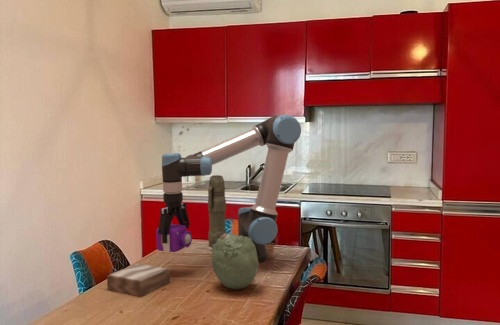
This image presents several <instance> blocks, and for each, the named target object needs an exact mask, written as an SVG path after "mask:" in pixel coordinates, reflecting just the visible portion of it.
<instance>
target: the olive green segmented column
mask: <svg viewBox="0 0 500 325" xmlns="http://www.w3.org/2000/svg"><path fill="white" fill-rule="evenodd" d="M225 190H226V187H225V180H224V176H222V175H221V174H220V175H216V174H215V175H212V176H211V175H210V177H209V180H208V190H207V196H208V198H207V210H208V220H209V221H208V222H209V227H208V228H209V230H208V234H207V236H208V237H207V238H208V247H210V248H213V246H212V245H215V243H216V242H217V239H219V238H220V237H221V235H222V234H227V230H226V211H227V200H226V192H225Z"/></svg>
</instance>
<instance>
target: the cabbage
mask: <svg viewBox="0 0 500 325" xmlns="http://www.w3.org/2000/svg"><path fill="white" fill-rule="evenodd" d="M212 246H213V247H211V248H212V249H210V250H209V252H211V253H212V255H210V257H211V259H212V260H211V267H212V269H213V272H214V274H215V276H216V277H217V279H218V281H219V283H220V284H222V285H223V286H225V287H226V288H228V289H231V290H242V289H245V288H247V287H248V286H249V285H250V284H252V282H253V281H254V280H255V279H256V276H257V271H258V268H259V265H260V264H259V263H260V262H258V256H257V251H256V248H255V245H254V244H253V242H252V240H251V239H250V238H249V237H246V236H245V237H244V236H242V235H241V236H238V234H234V233H226V234H222V235H221V237H220V238H219V239H217V242H216V243H215V245H212Z"/></svg>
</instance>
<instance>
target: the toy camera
mask: <svg viewBox="0 0 500 325" xmlns="http://www.w3.org/2000/svg"><path fill="white" fill-rule="evenodd" d="M165 232H166V231H165ZM155 234H156V235H155V237H156V249H157V250H158V251H160V252H164V251H163V242H162V235H160V234H158V228H156V230H155ZM168 235H169V236H170V252H169V253H176V252H178V251H181V250H182V249H185V248H189V247H190V246H191V244H192V241H193V235H192V232H191V231H190V230H187V228H186V226H185V225H180V224H179V223H177V224H176V223H175V224H174V223H172V222H171V225H170V228H169V232H168Z"/></svg>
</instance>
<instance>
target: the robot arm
mask: <svg viewBox="0 0 500 325" xmlns="http://www.w3.org/2000/svg"><path fill="white" fill-rule="evenodd" d="M301 134H302V127H301V124H300V122H299V120H298V119H297V118H296V117H294V116H292V115H289V114H288V115H287V114H282V115H274V116H271V117H268V118H267V119H265V120H263V121H262V122H260V123H258V124H256V125H253V126H252V128H251V129H250V130H248V131H247V130H246V131H245V132H242V133H240V134H237V135H236V136H233V137H231V138H228V139H225V140H223V141H221V142H220V143H216V144H214V145H212V146H210V147H207V148H205V149H202V150H200V151H198V152H196V153H193V154H189V155H187V156H185V157H182V155H181V153H179V152H168V153H163V155H161V176H162V178H161V179H162V187H163V188H162V192H163V195H162V197H163V198H162V199H163V203H164V204H165V207H163V208H162V207H161V208H160V209H159V212H160V213H159V214H160V215H159V223H158V227H157V229H158V234H160V235H162V242H163V251H162V252H168V253H171V252H170V236H169V235H168V232H169V228H170V225H171V223H172V221H173V219H174V217H175V218H176V220H177V222H178V225H185V226H186V229H189V228H190V218H189V215H188V211H187V203H185V202H183V199H184V198H183V197H184V195H183V181H182V180H183V178H185V177H205V176H211V174H212V172H213V166H214V165H216V164H219V163H221V162H222V161H225V160H228V159H229V158H232V157H235V156H237V155H239V154H241V153H244V152H246V151H248V150H250V149H253V148H255V147H258V146H260V147H265V145H266V146H267V153H266V158H265V161H264V166H263V170H262V173H261V174H262V175H261V178H260V181H259V188H258V191H257V196H256V199H255V204H253V205H252V206H246V207H240V208H238V212H237V221H238V222H237V233H238V234H237V235H238V236H241V235H242V236H244V237H245V236H246V237H249V238H250V239H251V240H252V242H253V244H254V245H255V248H256V251H257V256H258V262H259V263H261V262H264V261H267V260H268V259H269V251H268V247H267V244H269V243H271V242H272V241H274V240H275V238H276V237H277V234H278V224H277V223H276V222H277V219H278V215H279V214H278V212H277V210H276V208H277V203H278V198H279V194H280V190H281V186H282V183H283V178H284V173H285V169H286V165H287V161H288V157H289V154H290V153H291V152H293V151H294V147H295V143H296V142H297V141H298V140H299V139H300V137H301ZM165 231H166V232H165Z"/></svg>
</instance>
